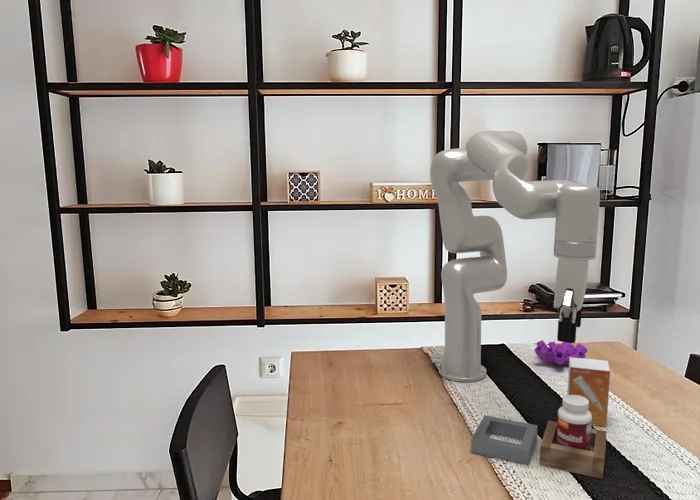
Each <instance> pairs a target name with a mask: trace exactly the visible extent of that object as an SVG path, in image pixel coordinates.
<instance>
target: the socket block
mask: <svg viewBox="0 0 700 500" xmlns="http://www.w3.org/2000/svg"><path fill="white" fill-rule="evenodd" d="M491 433H492V434H491ZM496 434H497V435H496ZM491 435H496V436H501V435H502V436H501V437H506V438H510V437H511V438H510V439H515V438H517V439H516V440H520V439H521V442H520V443H516V442H511V441H506V440H500V439H496V438H492V437H490V436H491ZM537 439H538V425H537V424H532V423H527V422H522V421H516V420H512V419H506V418H502V417H501V418H500V417H496V416H491V415H486V414H484V416H483V418H482V419H481V421H480V422H479V424H478V426H477V428H476V430H475V432H474V433H473V435H472V437H471V443H470V444H471V447H470V448H471V450H470V452H471V454H476V455H479V456H484V457H489V458H493V459H497V458H498V459H497V460H503V461H506V460H507V461H506V462H511V463H516V464H520V465H524V464H526V465H525V466H529V463H530V461H531V458H532V455H533V451H534V448H535V445H536V443H537Z"/></svg>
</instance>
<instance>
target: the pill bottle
mask: <svg viewBox="0 0 700 500" xmlns="http://www.w3.org/2000/svg"><path fill="white" fill-rule="evenodd" d="M561 404H562V405H561V406H560V407H559V408H558V410H557V420H556V422H557V437H556V444H557V445H562V446H567V447H572V448H577V449H582V450H587V451H590V442H591V429H592V415H591V413H590V411H589V410H588V408H589V401H588V400H587V399H586V398H585V397H582V396H579V395H567V394H566V395H564V396H562V403H561Z"/></svg>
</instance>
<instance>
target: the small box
mask: <svg viewBox="0 0 700 500" xmlns="http://www.w3.org/2000/svg"><path fill="white" fill-rule="evenodd" d="M610 377H611V370H610V363H609V360H603V359H594V358H593V359H592V358H586V357H585V358H573V357H569V365H568V376H567V394H566V395H579V396H582V397H585V398H586V399H587V400H588V401H589V408H588V410H589V411H590V413H591V415H592V425H593V426H599V427H603V428H604V427H605V428H606V427H607V422H608V421H607V420H608V409H609V408H608V407H609V395H610V394H609V393H610V381H611V380H610V379H611V378H610Z"/></svg>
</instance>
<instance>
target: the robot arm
mask: <svg viewBox="0 0 700 500" xmlns="http://www.w3.org/2000/svg"><path fill="white" fill-rule="evenodd" d="M527 154H528V144H527V141H526V138H524V136H523V135H522V134H521V133H519V132H517V131H515V130H483V131H480V132H479V131H478V132H477V133H474V134H473V135H471V136H470V137H469V138H468V139H467V142H466V143H465V148H461V147H460V148H458V147H457V148H450V149H445V150H442V151H439V152H438V153H436V155H435V156H434V157H433V159H432V161H431V163H430V172H429V173H430V174H429V175H430V182H431V185H432V189H433V192H434V194H435V197H436V200H437V204H438V213H439V220H440V221H439V222H440V228H441V237H442V242H443V245H444V246H443V247H444V248H445V250H446V251H447V252H449V253H453V254H465V253H466V254H467V253H477V252H479V255H480V256H472V257H471V256H470V257H462V258H456V259H452V260H450V261H447V262H446V263H445V264H444V265H443V266H442V268H441V272H440V276H441V277H440V278H441V284H442V285H441V286H442V289H443V295H444V296H443V297H444V353H442V354H438V353H434V352H433V353H432V352H431V353H430V360H431V363H432V364H439V365H440V366H439V368H438V373H439V374H440V376H441V377H443V378H445V379H447V380H449V381H454V382H461V383H469V382H470V383H471V382H477V381H480V380H483V379H484V378H485V377H486V376H487V368H486V367H485V366H484V365H482V364H481V363H482V361H481V359H482V355H481V354H482V351H481V350H482V310H481V306H480V304H479V302H477V299H475V297H474V296H475V294H479V293H480V294H482V293H486V292H487V293H489V292H495V291H498V290H501V289H502V288H504V287H505V285H506V283H507V279H508V268H507V259H506V251H505V244H504V243H505V242H504V236H503V230H502V228H501V225H500V223H499V222H498V220H497V219H496V218H494V217H493V216H490V215H474V214H473V209H472V208H473V207H472V201H471V198H470V195H469V194H468V193H467V191H466V189H464V188H463V186H462V185H461V184H459V183H461V182H484V181H485V182H487V181H491V180H492V185H491V186H492V191H493V195H494V199H495V200H496V202H497V203H498V204H499V206H500V207H502V208H503V209H504V210H505V211H507V212H508V213H509V214H511V215H512V216H514V217H515V218H518V219H521V220H536V219H539V220H541V219H554V218H555V224H554V241H553V256H554V257H555V258H557V259H558V261H557V266H556V274H555V285H554V287H555V289H554V296H553V297H554V298H553V300H554V301H553V307H554V309H559V308H560V311H559V317H558V320H557V321H558V322H557V335H556V336H557V337H556V338H557V339H556V340H557V341H558V342H561V343H563V342H568V343H571V344H575V343H576V338H577V328H581V326H582V312H583V310H582V309H583V308H582V306H583V303H584V300H585V295H586V291H587V284H588V283H587V282H588V274H589V262H590V261H591V260H595V259H596V256H597V243H598V242H597V240H598V230H599V229H598V228H599V218H600V217H599V216H600V203H601V201H600V200H601V191H600V188H599V187H598V186H597V185H594V184H590V183H575V182H573V181H570V180H566V179H554V180H553V179H552V180H548V179H547V180H531V181H524V180H523V179H524V178H525V177H526V175H527V172H528V170H529V159H528V157H527Z"/></svg>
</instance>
